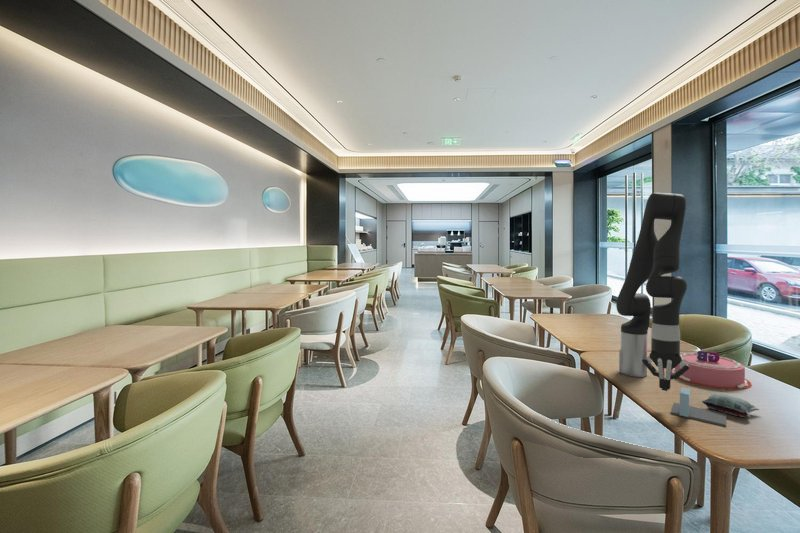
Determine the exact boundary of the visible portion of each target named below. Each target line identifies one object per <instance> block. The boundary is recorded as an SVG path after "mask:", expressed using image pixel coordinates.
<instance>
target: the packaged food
mask: <svg viewBox="0 0 800 533" xmlns="http://www.w3.org/2000/svg"><path fill="white" fill-rule="evenodd" d="M701 402H702V404H704V405H705V406H707V407H708V408H709V409H712V410H713V411H716V412H720V413H725V414H726V415H727V414H728V415H732V416H736V417H748V418H751V415H750V413H752V412H754V411H755V412H756V411H760V408H758V407H756V406H755V405H753V404H751V403H750V402H749V401H747V400H744V399H742V398H739V397H737V396H736V397H735V396H731V395H728V394H722V393H716V392H713V393H711V394H710V395H709V396H708V398H707V399H704V400H701Z"/></svg>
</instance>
